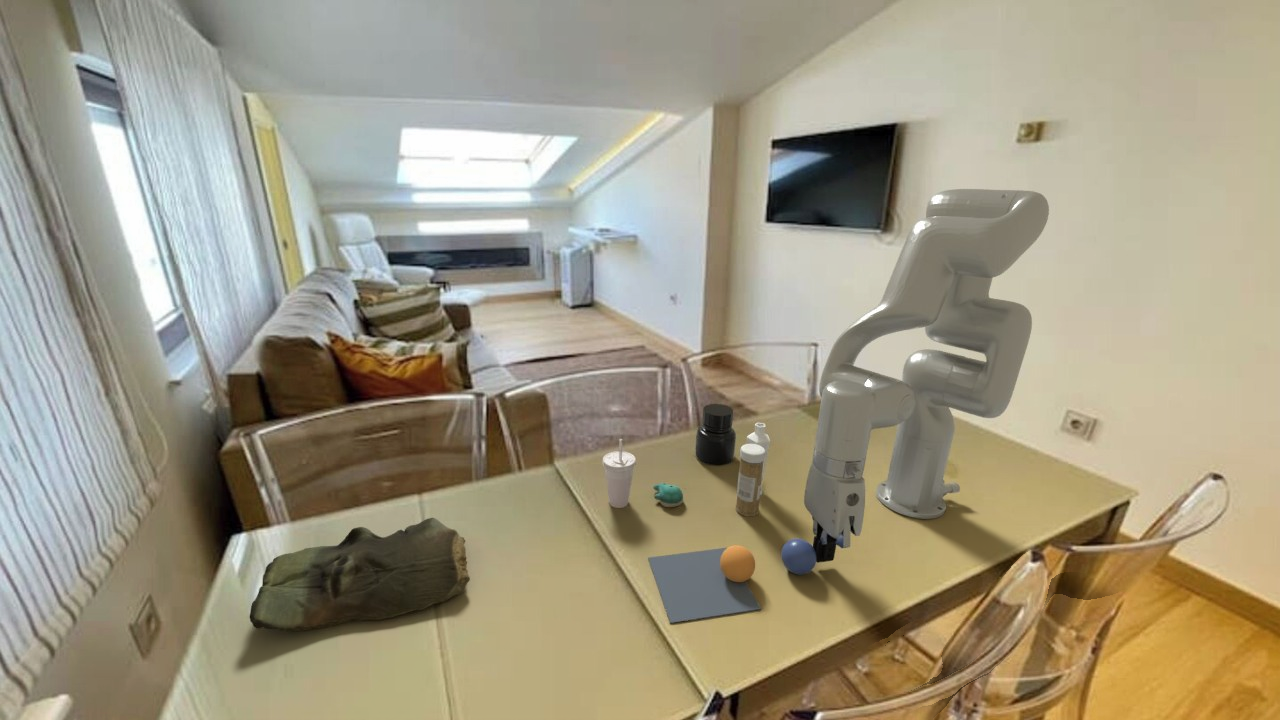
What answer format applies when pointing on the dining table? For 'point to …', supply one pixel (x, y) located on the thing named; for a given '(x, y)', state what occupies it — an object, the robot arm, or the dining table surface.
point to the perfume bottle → (760, 442)
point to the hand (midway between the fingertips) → (822, 558)
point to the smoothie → (619, 476)
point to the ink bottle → (716, 435)
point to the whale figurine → (668, 495)
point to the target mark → (699, 586)
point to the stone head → (362, 578)
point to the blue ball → (798, 556)
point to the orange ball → (737, 563)
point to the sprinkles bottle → (750, 479)
